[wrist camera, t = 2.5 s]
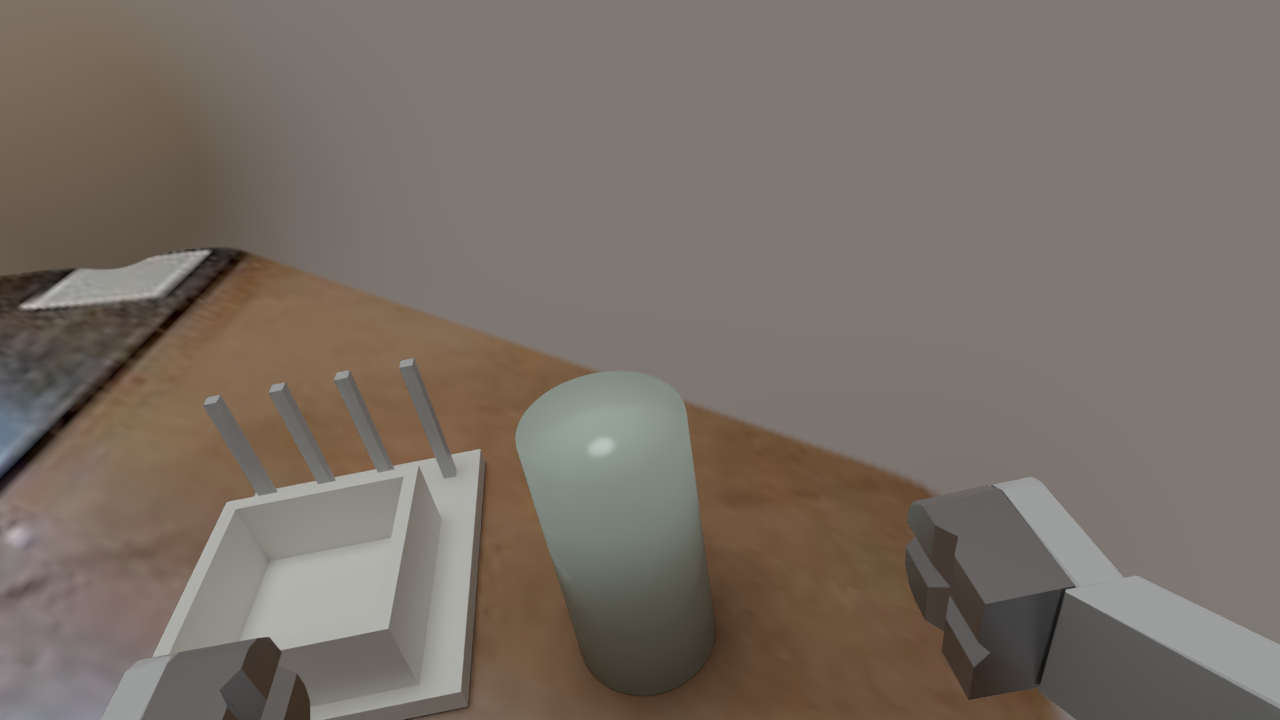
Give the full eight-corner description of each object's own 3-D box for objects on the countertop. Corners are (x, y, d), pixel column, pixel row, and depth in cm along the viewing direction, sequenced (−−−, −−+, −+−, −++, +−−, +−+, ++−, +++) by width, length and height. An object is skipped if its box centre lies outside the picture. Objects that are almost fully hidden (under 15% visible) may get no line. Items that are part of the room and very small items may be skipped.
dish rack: (467, 706, 28) (399, 569, 23) (153, 770, 28) (22, 643, 23) (485, 462, 39) (442, 339, 35) (264, 506, 39) (191, 387, 35)
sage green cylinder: (652, 725, 26) (600, 511, 20) (552, 643, 30) (481, 438, 24) (743, 619, 29) (721, 405, 23) (643, 555, 33) (600, 354, 27)
